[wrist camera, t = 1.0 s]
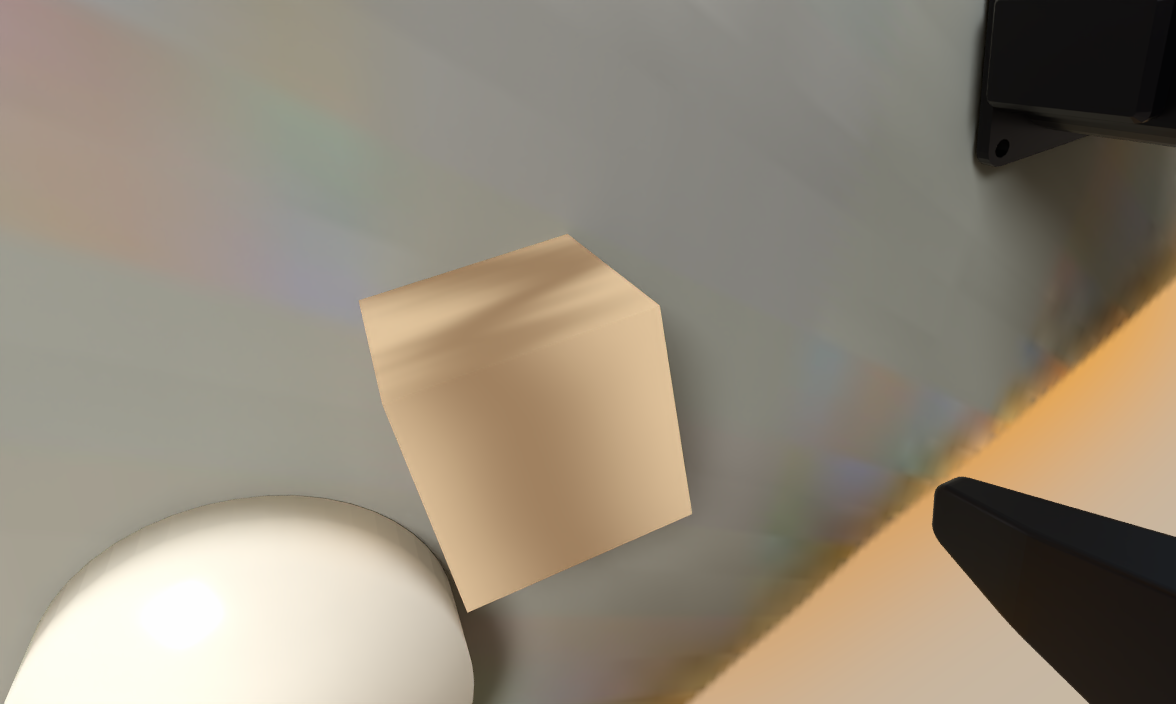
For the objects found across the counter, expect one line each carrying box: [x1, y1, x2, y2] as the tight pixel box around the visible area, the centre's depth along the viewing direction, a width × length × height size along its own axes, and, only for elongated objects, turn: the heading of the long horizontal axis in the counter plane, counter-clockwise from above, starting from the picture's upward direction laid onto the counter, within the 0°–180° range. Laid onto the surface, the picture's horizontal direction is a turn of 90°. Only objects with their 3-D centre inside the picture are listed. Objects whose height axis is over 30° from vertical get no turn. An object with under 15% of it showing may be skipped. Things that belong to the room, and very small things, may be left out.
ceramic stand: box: [4, 496, 474, 704], centre depth 17 cm, size 10×10×2 cm
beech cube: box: [359, 234, 692, 613], centre depth 15 cm, size 5×5×5 cm
